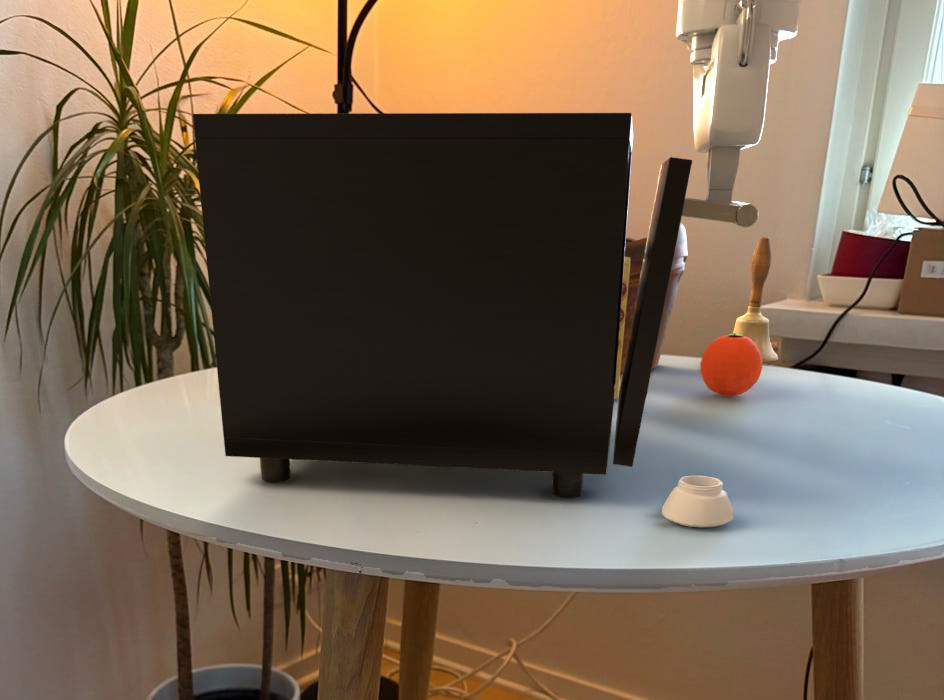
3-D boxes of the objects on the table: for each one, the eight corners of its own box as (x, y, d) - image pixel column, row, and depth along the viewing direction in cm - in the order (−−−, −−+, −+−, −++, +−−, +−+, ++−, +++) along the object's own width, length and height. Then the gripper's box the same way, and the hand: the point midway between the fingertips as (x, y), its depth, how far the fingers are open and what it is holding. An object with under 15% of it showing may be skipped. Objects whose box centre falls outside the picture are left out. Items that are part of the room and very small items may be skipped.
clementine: (702, 386, 120) (708, 326, 117) (761, 391, 118) (769, 329, 115) (693, 399, 113) (700, 334, 110) (755, 403, 111) (764, 338, 108)
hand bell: (741, 352, 145) (755, 235, 138) (790, 359, 139) (807, 237, 132) (705, 357, 140) (718, 236, 133) (754, 365, 134) (771, 239, 127)
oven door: (691, 404, 99) (740, 175, 90) (709, 479, 74) (781, 171, 65) (618, 393, 99) (660, 164, 90) (612, 464, 74) (670, 157, 65)
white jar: (694, 535, 69) (746, 524, 71) (698, 494, 68) (751, 484, 70) (647, 516, 73) (698, 506, 75) (651, 477, 72) (703, 468, 74)
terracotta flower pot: (518, 357, 139) (522, 219, 131) (652, 354, 142) (664, 219, 135) (551, 380, 123) (558, 224, 116) (701, 376, 126) (718, 225, 119)
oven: (612, 421, 102) (633, 134, 91) (604, 507, 75) (631, 112, 64) (332, 410, 106) (318, 133, 95) (228, 486, 79) (192, 113, 68)
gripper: (803, -16, 63) (773, 218, 69) (765, 29, 82) (745, 211, 87) (702, -14, 64) (682, 217, 70) (688, 30, 82) (672, 210, 88)
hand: (716, 214), depth 79 cm, fingers closed
